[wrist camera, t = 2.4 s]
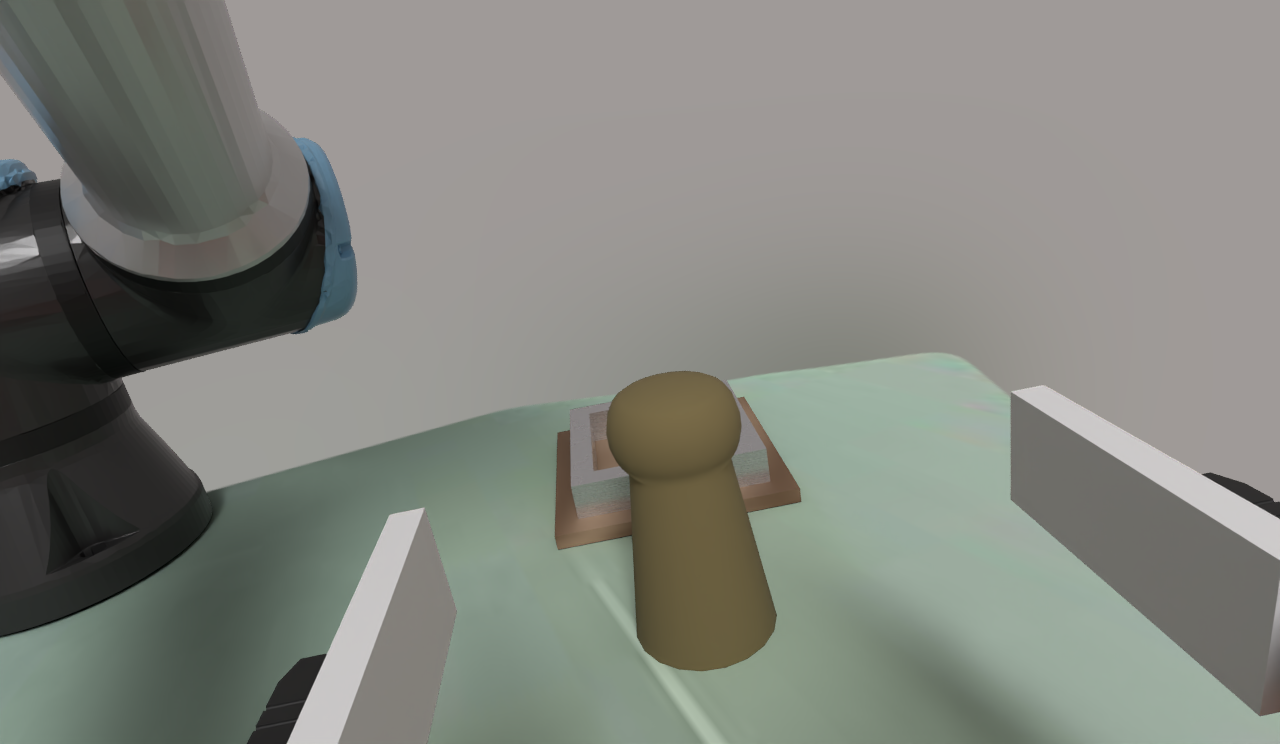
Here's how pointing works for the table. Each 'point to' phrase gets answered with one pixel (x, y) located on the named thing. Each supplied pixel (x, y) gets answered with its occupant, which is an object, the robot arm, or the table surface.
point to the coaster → (602, 489)
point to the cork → (689, 522)
